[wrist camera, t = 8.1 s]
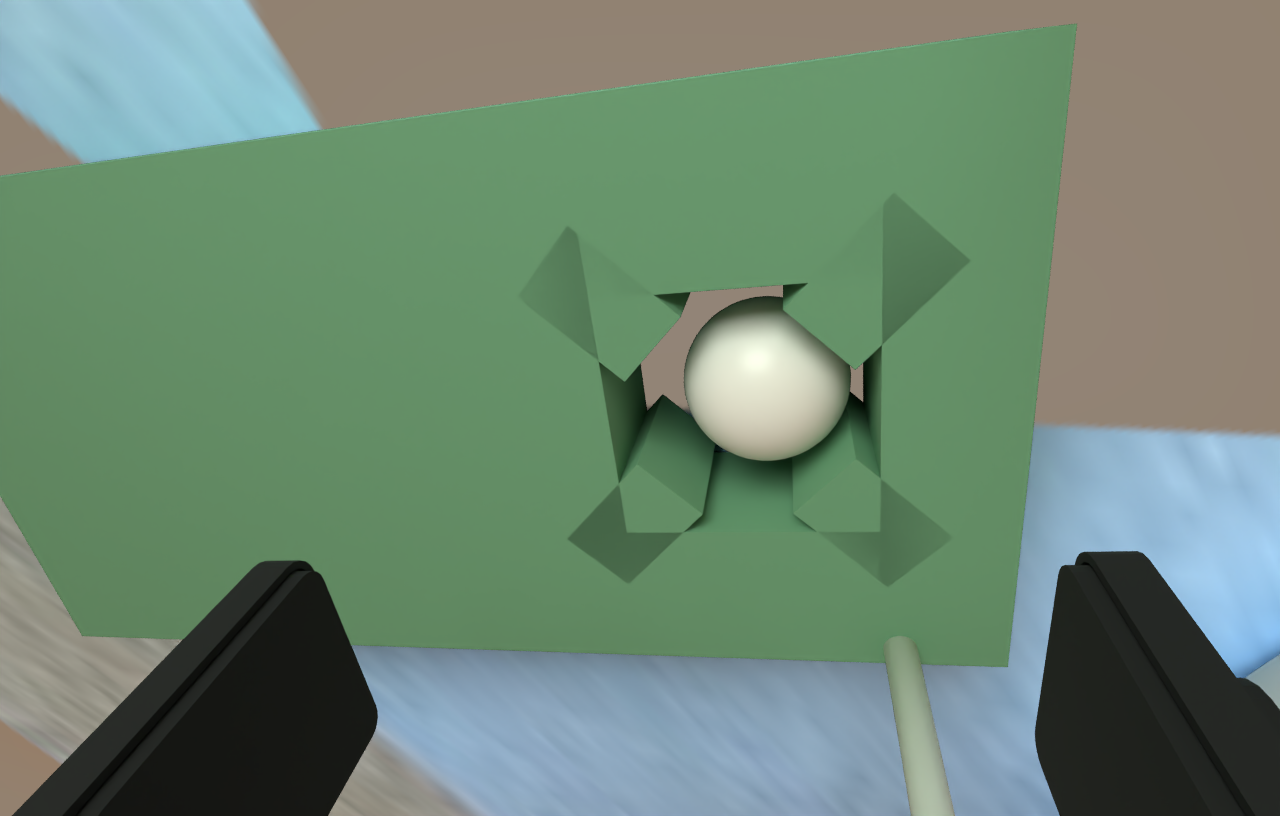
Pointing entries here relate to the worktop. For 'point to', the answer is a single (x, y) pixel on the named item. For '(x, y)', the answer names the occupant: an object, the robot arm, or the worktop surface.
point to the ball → (763, 382)
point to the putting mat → (555, 367)
